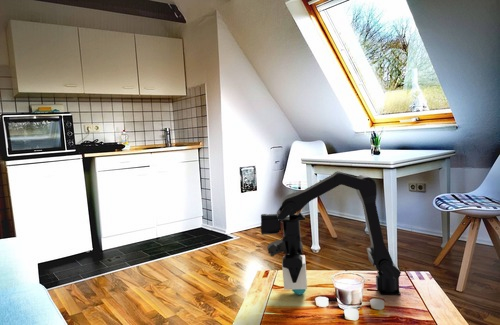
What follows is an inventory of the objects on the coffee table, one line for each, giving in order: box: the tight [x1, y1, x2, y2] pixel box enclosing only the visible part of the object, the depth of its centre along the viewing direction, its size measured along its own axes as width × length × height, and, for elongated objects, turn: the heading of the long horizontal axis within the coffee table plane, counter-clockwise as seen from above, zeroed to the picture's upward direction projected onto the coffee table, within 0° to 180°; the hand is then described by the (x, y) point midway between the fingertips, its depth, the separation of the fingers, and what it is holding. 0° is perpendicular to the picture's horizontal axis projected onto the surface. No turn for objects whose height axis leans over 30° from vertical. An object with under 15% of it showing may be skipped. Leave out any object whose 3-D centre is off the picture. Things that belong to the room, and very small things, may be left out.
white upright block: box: [281, 254, 308, 290], centre depth 124 cm, size 8×8×9 cm
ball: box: [291, 289, 307, 296], centre depth 124 cm, size 5×5×5 cm
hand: (294, 277), depth 124 cm, fingers closed on white upright block, 7 cm apart
